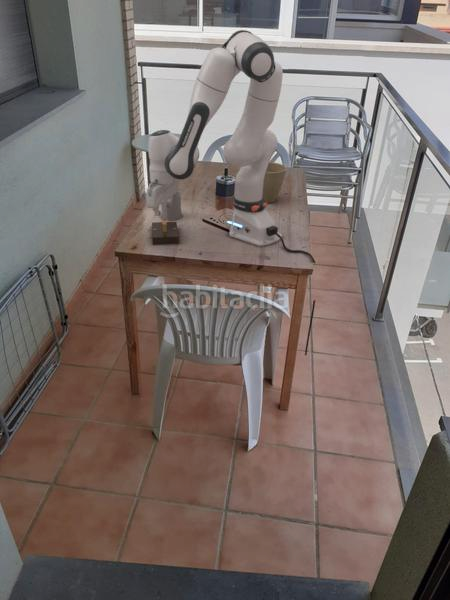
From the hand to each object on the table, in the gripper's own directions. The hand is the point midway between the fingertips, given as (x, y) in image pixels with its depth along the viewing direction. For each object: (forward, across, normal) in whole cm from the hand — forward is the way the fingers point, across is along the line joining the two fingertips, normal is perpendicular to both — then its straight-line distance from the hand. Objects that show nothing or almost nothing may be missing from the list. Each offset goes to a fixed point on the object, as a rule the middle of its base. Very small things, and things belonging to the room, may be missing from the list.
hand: (163, 210), depth 182 cm
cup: (+11, +18, +6) cm, 22 cm away
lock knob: (+8, 0, 0) cm, 8 cm away
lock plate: (+11, 0, 0) cm, 11 cm away
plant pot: (+11, +54, -27) cm, 61 cm away
